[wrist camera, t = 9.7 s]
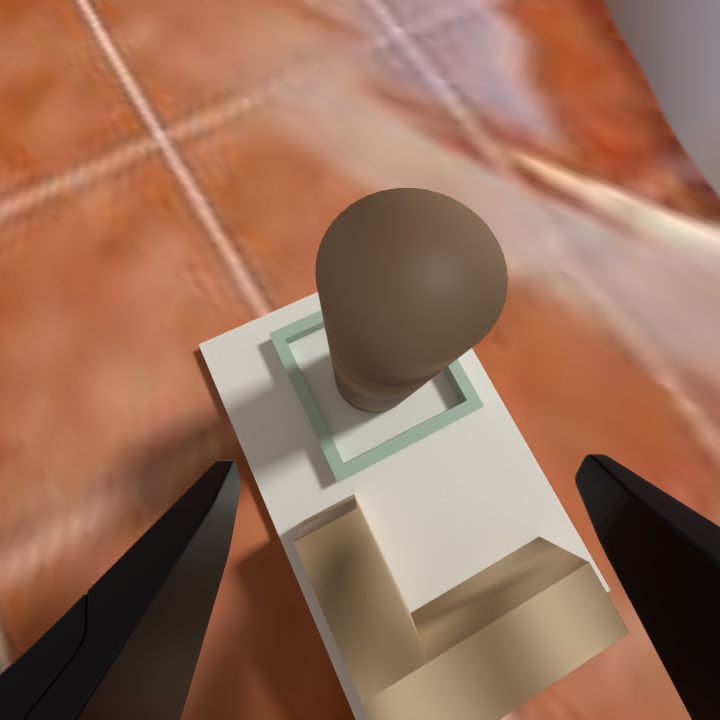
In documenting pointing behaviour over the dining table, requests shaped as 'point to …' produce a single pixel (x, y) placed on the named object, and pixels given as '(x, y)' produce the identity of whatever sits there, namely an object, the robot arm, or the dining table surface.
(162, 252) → the dining table surface
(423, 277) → the walnut column
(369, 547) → the tan l-shaped block
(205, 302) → the dining table surface
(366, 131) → the dining table surface
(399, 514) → the board
